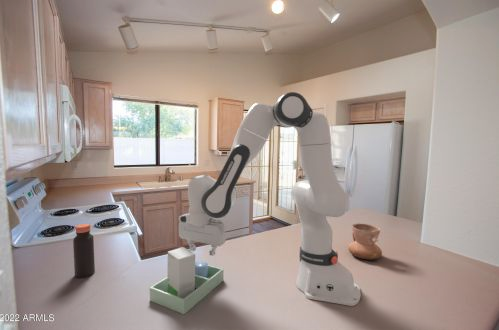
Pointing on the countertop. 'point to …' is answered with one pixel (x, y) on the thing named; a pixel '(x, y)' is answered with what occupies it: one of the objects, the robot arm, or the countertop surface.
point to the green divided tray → (192, 299)
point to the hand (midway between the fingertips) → (202, 252)
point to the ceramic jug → (365, 242)
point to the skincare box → (181, 272)
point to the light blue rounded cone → (201, 269)
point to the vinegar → (83, 251)
